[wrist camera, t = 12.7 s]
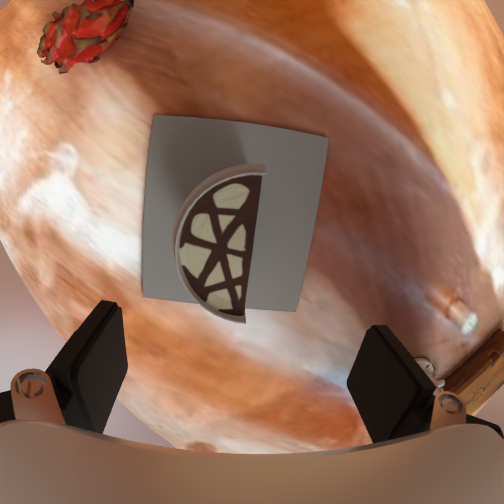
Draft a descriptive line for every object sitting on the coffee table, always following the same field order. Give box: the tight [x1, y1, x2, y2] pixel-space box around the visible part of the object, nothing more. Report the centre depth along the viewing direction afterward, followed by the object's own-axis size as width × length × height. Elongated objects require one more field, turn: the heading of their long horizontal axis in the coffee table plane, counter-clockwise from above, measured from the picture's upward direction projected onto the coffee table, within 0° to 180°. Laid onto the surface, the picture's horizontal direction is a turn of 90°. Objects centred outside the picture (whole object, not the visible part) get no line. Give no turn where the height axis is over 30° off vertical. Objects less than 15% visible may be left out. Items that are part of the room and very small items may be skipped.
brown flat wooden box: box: [442, 329, 504, 415], centre depth 43 cm, size 23×19×6 cm
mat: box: [142, 115, 329, 312], centre depth 29 cm, size 18×20×1 cm
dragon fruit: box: [37, 0, 134, 74], centre depth 18 cm, size 8×8×12 cm
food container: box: [172, 164, 267, 324], centre depth 24 cm, size 12×6×10 cm, turn 173°
